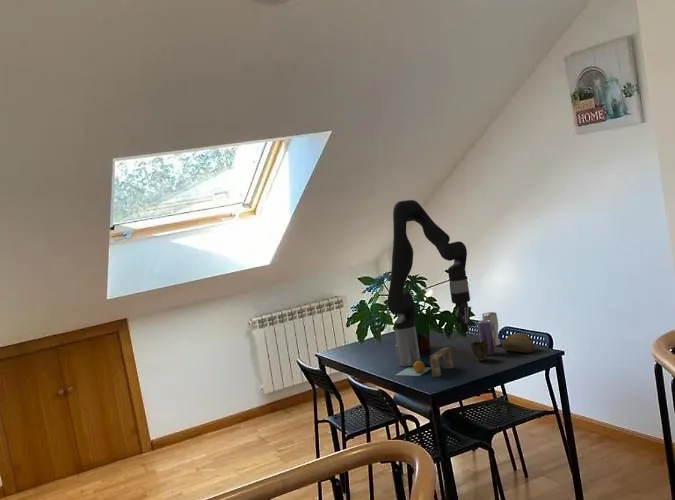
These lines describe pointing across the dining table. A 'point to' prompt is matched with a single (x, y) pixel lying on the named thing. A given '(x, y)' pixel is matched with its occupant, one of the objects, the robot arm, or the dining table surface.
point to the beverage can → (486, 335)
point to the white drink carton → (493, 325)
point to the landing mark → (412, 372)
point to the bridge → (435, 361)
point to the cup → (480, 350)
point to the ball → (419, 366)
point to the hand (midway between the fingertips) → (465, 331)
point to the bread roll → (518, 343)
